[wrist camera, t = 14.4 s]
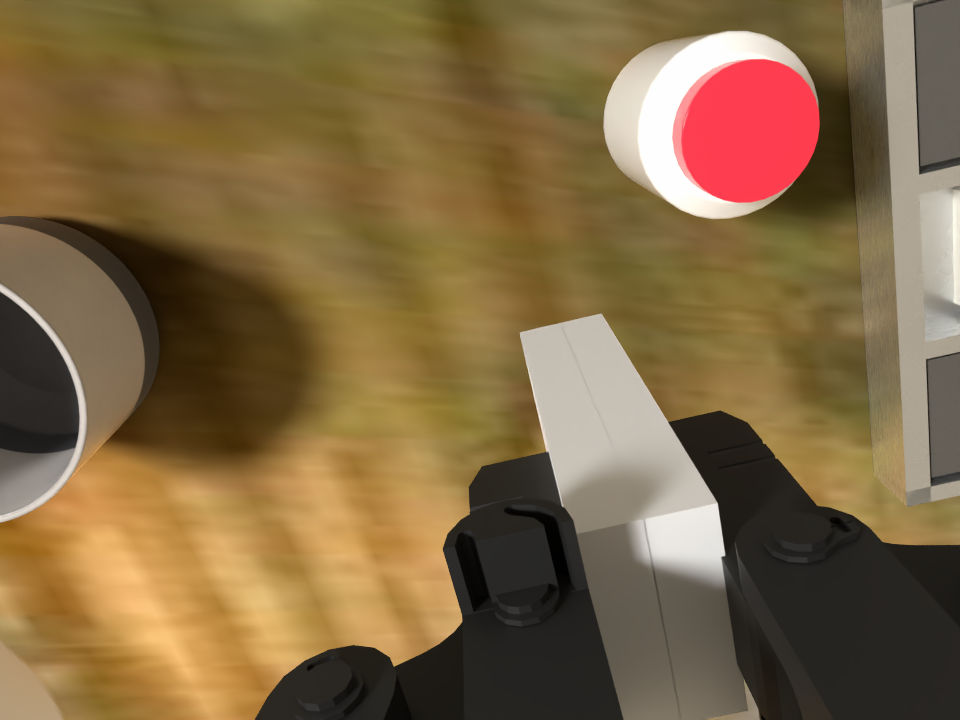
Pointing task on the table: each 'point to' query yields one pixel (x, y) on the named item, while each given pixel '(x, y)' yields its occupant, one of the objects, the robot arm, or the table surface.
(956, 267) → the white block
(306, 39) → the table surface
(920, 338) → the tray
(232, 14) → the table surface
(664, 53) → the pill bottle
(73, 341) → the planter
